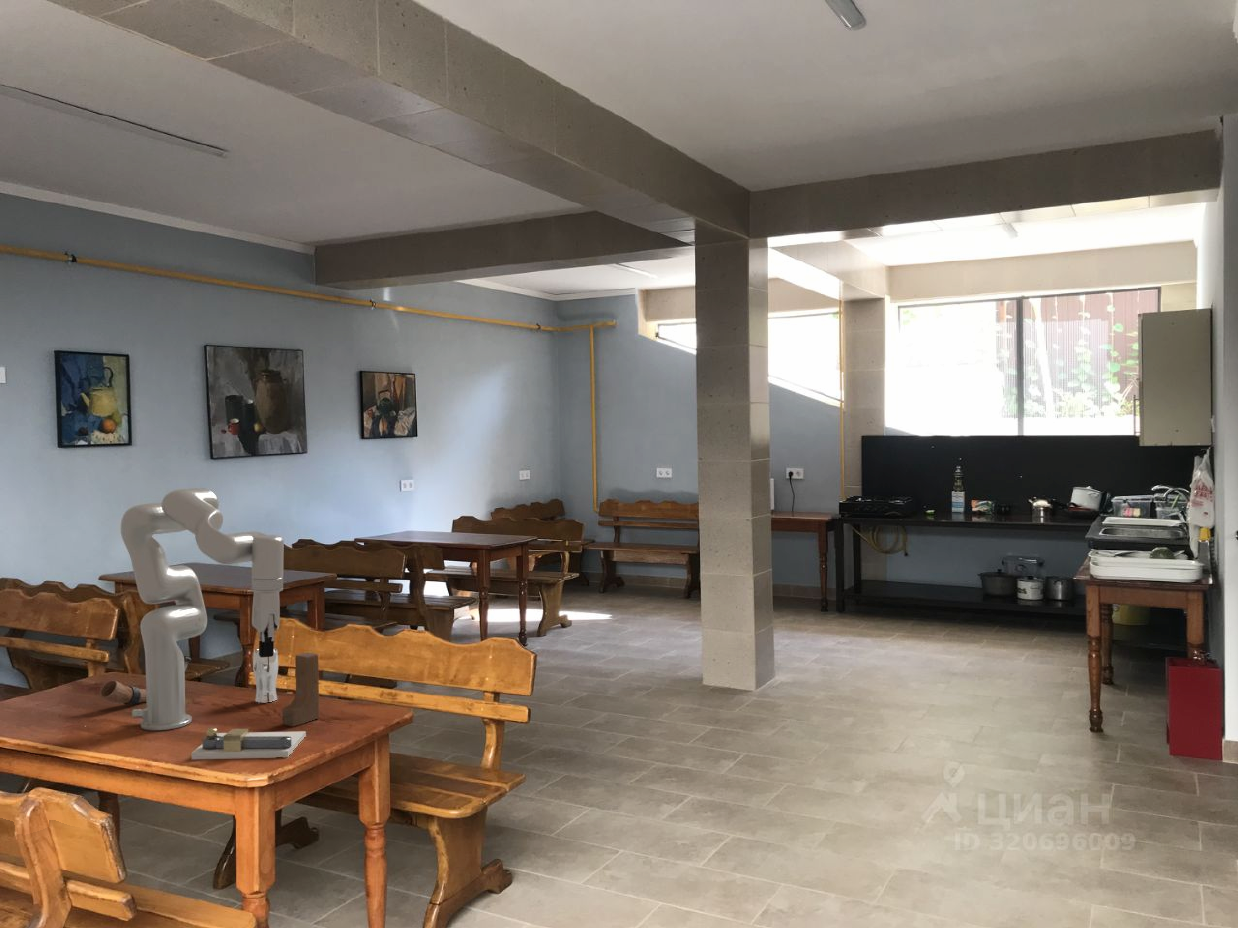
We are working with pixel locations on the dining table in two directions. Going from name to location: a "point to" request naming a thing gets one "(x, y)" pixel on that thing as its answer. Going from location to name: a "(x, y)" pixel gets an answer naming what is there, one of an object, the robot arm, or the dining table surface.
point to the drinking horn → (126, 691)
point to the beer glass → (265, 676)
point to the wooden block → (304, 692)
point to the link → (250, 742)
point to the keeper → (230, 738)
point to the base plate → (252, 752)
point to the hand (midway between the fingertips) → (266, 656)
